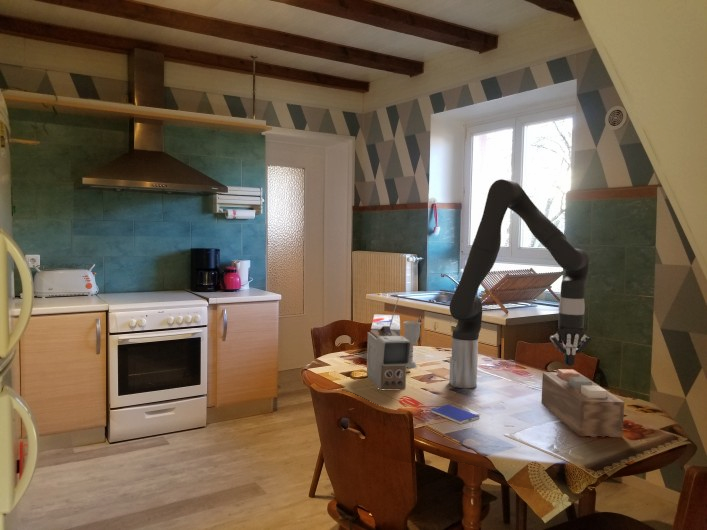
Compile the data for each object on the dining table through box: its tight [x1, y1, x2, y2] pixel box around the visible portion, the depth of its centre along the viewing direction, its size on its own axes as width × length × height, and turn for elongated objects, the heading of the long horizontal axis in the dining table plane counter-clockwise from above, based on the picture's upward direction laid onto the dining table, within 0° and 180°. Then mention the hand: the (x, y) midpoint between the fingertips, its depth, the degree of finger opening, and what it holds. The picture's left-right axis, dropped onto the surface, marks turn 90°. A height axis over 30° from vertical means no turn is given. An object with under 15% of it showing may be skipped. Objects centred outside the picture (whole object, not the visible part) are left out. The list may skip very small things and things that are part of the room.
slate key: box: [569, 376, 593, 389], centre depth 170 cm, size 5×5×5 cm
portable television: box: [366, 297, 412, 390], centre depth 202 cm, size 12×24×30 cm, turn 12°
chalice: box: [403, 320, 422, 369], centre depth 227 cm, size 7×7×18 cm
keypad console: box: [540, 371, 625, 438], centre depth 170 cm, size 12×30×10 cm, turn 1°
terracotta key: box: [557, 368, 581, 380], centre depth 179 cm, size 5×5×5 cm
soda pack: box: [370, 313, 401, 335], centre depth 256 cm, size 41×13×14 cm, turn 176°
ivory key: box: [581, 385, 606, 398], centre depth 161 cm, size 5×5×5 cm
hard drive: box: [430, 403, 480, 425], centre depth 171 cm, size 2×8×12 cm
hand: (568, 365), depth 178 cm, fingers closed
